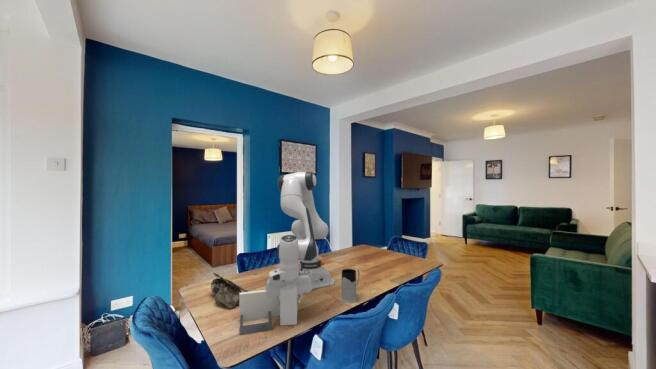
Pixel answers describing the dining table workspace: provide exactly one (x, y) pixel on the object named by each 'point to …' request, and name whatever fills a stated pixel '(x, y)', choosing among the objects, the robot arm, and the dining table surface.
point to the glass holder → (349, 285)
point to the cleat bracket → (256, 326)
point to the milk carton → (288, 304)
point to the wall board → (258, 305)
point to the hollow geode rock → (226, 291)
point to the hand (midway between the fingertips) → (288, 304)
